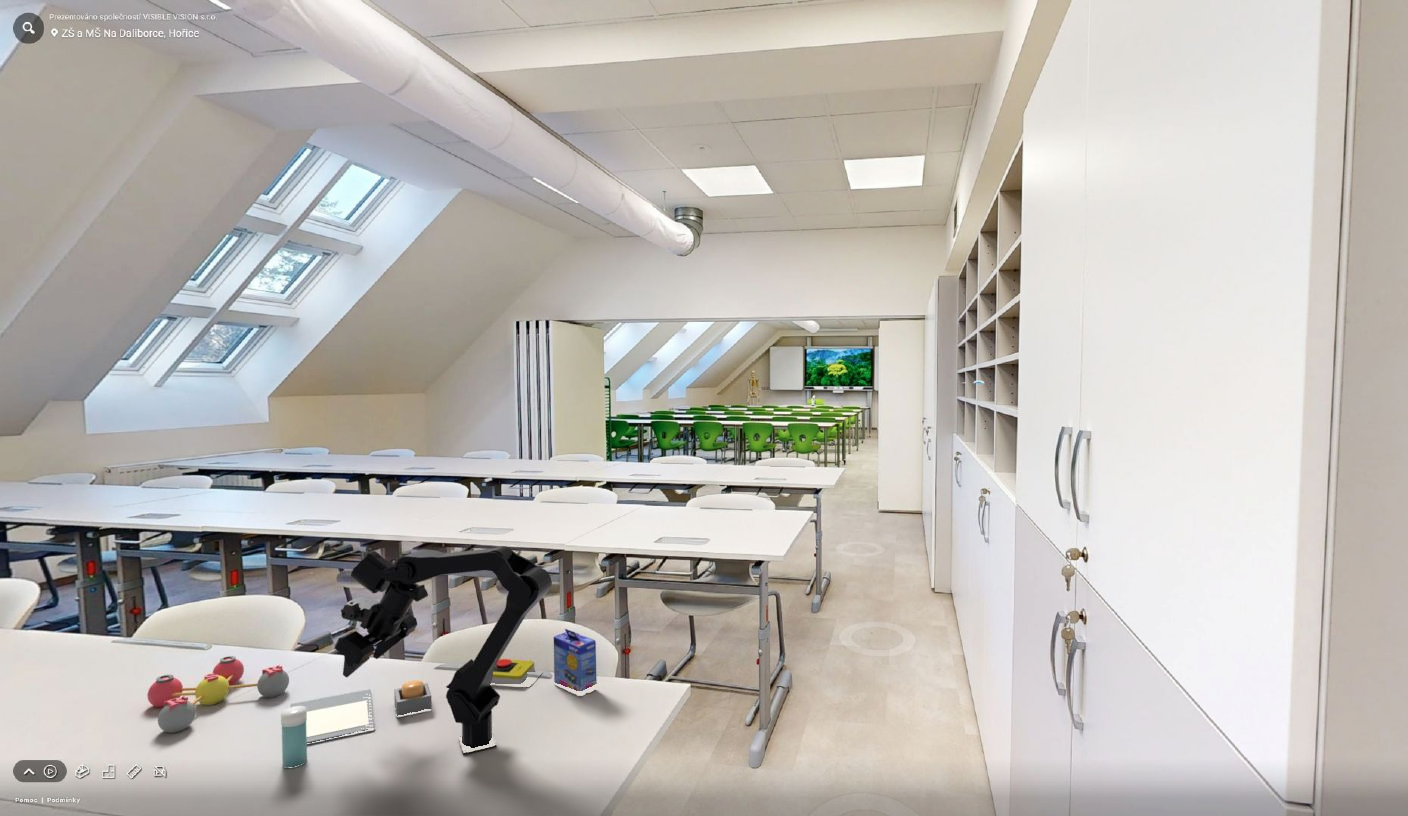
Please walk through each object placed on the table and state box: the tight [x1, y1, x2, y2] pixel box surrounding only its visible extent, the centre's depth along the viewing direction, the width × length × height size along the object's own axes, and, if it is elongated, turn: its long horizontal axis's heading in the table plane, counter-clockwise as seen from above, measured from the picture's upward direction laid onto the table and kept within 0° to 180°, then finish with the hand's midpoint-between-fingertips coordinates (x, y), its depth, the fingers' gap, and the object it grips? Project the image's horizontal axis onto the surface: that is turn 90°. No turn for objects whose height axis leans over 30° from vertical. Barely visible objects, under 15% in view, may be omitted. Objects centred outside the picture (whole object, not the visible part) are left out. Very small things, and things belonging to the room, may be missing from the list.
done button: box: [401, 680, 424, 700], centre depth 152 cm, size 4×4×3 cm
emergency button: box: [491, 658, 543, 684], centre depth 168 cm, size 9×4×15 cm
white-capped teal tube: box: [280, 706, 308, 768], centre depth 130 cm, size 4×4×10 cm
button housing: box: [393, 682, 433, 717], centre depth 152 cm, size 7×7×4 cm
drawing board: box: [289, 688, 375, 743], centre depth 147 cm, size 20×16×1 cm
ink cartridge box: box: [553, 628, 598, 691], centre depth 162 cm, size 10×6×14 cm, turn 51°
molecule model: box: [147, 655, 290, 734], centre depth 154 cm, size 25×21×6 cm
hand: (360, 666), depth 142 cm, fingers open, 9 cm apart
